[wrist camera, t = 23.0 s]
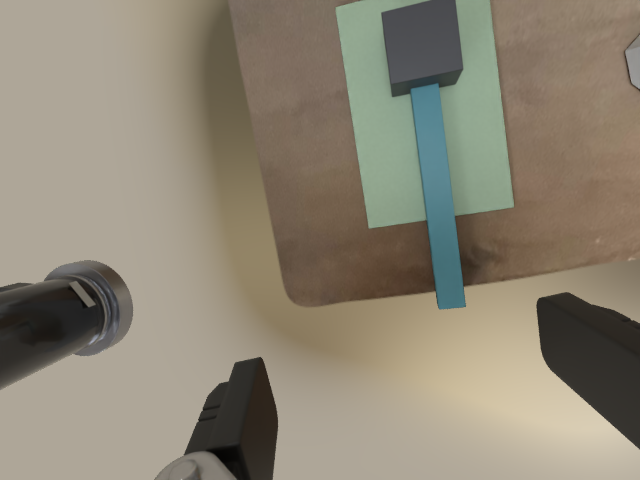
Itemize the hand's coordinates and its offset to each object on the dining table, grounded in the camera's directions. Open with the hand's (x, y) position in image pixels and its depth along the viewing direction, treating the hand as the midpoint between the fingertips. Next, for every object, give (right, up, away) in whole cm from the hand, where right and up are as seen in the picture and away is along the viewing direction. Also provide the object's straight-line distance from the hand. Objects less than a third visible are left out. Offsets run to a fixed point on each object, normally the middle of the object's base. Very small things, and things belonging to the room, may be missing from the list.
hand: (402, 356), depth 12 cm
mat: (+8, +16, +28) cm, 33 cm away
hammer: (+9, +11, +28) cm, 31 cm away
